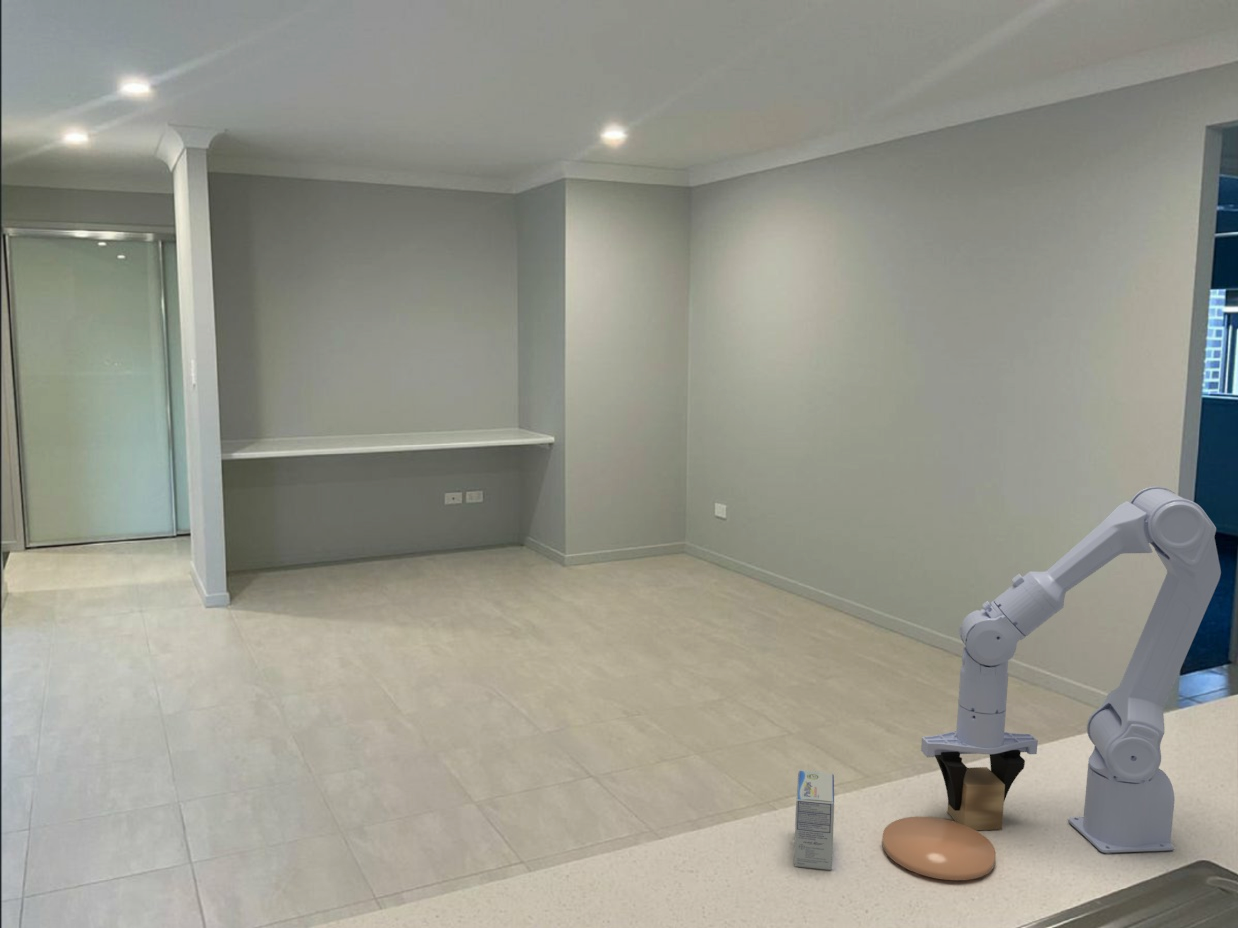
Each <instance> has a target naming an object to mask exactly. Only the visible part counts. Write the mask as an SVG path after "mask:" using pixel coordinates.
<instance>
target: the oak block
mask: <svg viewBox="0 0 1238 928" xmlns="http://www.w3.org/2000/svg"><path fill="white" fill-rule="evenodd" d="M1004 792H1005V784H1004V783H1003V782H1002V781H1001V780H1000V779H999V778H998V777H997V776H995V775H994V774H993V773H992V772H991V769H990V768H989V767H987V766H983V767H982V766H979V767H978V766H976V767H975V766H974V767H967V771H966V773H965V777H964V781H963V786H962V800H961V807H960V811H955V810H954V809H953V808H952V807H951V806H950V805H949V804H948V803H947V809H946V810H947V811H946V812H947V813H948V814H949V815H950V816H951V817H952V818H953V821H954V822H958V823H961V824H963V825H966V826H968V827H970V828H972V829H974V830H976V831H991V830H992V831H993V830H994V831H995V830H997V831H998V830H1002V828H1003V817H1004V806H1005V801H1004Z"/></svg>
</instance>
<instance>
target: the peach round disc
mask: <svg viewBox="0 0 1238 928" xmlns="http://www.w3.org/2000/svg"><path fill="white" fill-rule="evenodd" d="M881 843H882V847H883V850H884V851H885V853H886V854H887V856H888V857H889V858H890V859H891V860H893V861H894V862H895V863H896V864H898V865H900V866H901V867H903V868H905V869H906V870H909V871H911V872H914V873H916V874H918V875H922V876H925V877H929V878H933V879H937V880H938V879H939V880H945V881H969V880H974V879H978V878H982V877H983V876H986V875H987V874H989V873H990V872H991V871H992V870H993V868H994V867H995V865H996V856H997V855H996V854H997V852H996V848H995V847H994V845H993V844H992V842H991V841H990V840H989V839H988V838H987V837H986V836H985V835H984V834H982V833H981V832H980V831H979V830H974V829H972V828H970V827H968V826H966V825H963V824H961V823H958V822H956V821H955V820H950V819H946V818H941V817H933V816H909V817H908V816H907V817H903V818H899V819H896V820H894V821H892V822H891V823H889V824H888V825H886V827H885V828H884V829H883V833H882V841H881Z"/></svg>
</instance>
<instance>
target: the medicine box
mask: <svg viewBox="0 0 1238 928" xmlns="http://www.w3.org/2000/svg"><path fill="white" fill-rule="evenodd" d="M834 777H835V776H834V773H830V772H823V771H814V770H798V775H797V788H796V800H795V801H796V803H795V821H794V822H795V823H794V826H795V827H794V828H795V829H794V832H795V833H794V866H795V867H799V868H808V869H815V870H816V869H817V870H824V871H825V870H826V871H831V870H833V852H834V851H833V848H834V821H835V817H834V816H835V781H834V780H835V779H834Z"/></svg>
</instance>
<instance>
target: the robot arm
mask: <svg viewBox="0 0 1238 928" xmlns="http://www.w3.org/2000/svg"><path fill="white" fill-rule="evenodd" d="M1216 533H1217V527H1216V526H1215V524H1214V522H1213V521H1212V520H1211V518H1210V517H1209V516H1208V515H1207V513H1206V512H1205V510H1204V509H1203V508H1202V507H1201V506H1200V505H1199V504H1198V503H1196V502H1194V501H1192V500H1190V499H1187V498H1184V497H1182V496H1180V495H1178V494H1176V493H1175V492H1174V491H1172V490H1171V489H1168V488H1166V487H1163V486H1150V487H1149V486H1148V487H1146V488H1144V489H1141V490H1139V491H1138V492H1137V493H1136V494H1134V495H1133V497H1131V499H1130V501H1128V500H1126V501H1124V502H1122V503H1121V504H1120V505H1118V506H1117V507H1116V508H1114V509H1113V510H1112V512H1111V513H1110V514H1109V515H1108V516H1107V517H1106V518H1105V519H1104V520H1103V521H1101V522H1100V523H1099V524H1098V525H1097V526H1096V527H1095V528H1093V530H1091V532H1089V533H1088V534H1087V535H1086V536H1085V537H1083V539H1081V540H1080V541H1079V542H1078V543H1076V544H1075V545H1074V546H1073V547H1072V548H1071V549H1070V550H1068V551H1067V553H1065V554H1064V555H1063V556H1062V557H1061V558H1060V559H1058V560H1057V561H1056V562H1055V563H1054V564H1053V565H1051V567H1049V568H1048V569H1047V570H1045V571H1028V572H1027V573H1026V574H1025V575H1023V576H1022V575H1021V573H1017V574H1016V575H1015V576H1014V577H1013V578H1012V579H1011V582H1012V585H1011V586H1009V587H1008V588H1007V589H1006V590H1005V591H1004V592H1002V593H1000V594H999V595H998V596H997V597H996V598H995V599H993V600H991V602H990V601H988V600H986V601H985V602H984V603H982V604H981V607H982V608H981V609H980V610H978V609H975V610H974V611H972V612H970V613H968V614H967V615H966V616H965V617H964V618H963V619H962V622H961V623H962V624H961V625H960V626H959V627H958V633H959V634H958V635H959V638H960V640H961V641H962V643H963V645H964V646H965V647H963V650H962V656H961V666H960V669H959V670H960V671H959V687H958V702H957V703H958V705H957V715H956V716H957V720H956V730H955V731H951V732H945V733H940V734H936V735H930V736H922V737H921V743H920V744H921V745H920V747H921V748H920V749H921V750H920V751H921V753H922V754H923V755H924V756H925V757H926V758H935V759H936V762H937V764H938V766H939V769H940V771H941V774H942V777H943V781H944V785H945V789H946V795H947V796H946V797H947V805H948V804H949V805H950V806H951V807H952V808H953V809H954V810H955V811H960V807H961V800H962V786H963V781H964V777H965V773H966V771H967V768H968V766H966V764H964V763H963V757H961V755H970V754H971V755H977V754H979V755H989V763H990V765H989V766H990V771H991V772H992V773H993V774H994V775H995V776H997V777H998V778H999V779H1000V780H1001V781H1002V782H1003V783H1004V784H1005V792H1004V802H1005V801H1006V798H1007V796H1008V793H1009V791H1010V788H1011V786H1012V785H1013V783H1014V781H1015V780H1016V778H1017V777H1018V776H1019V775H1020V774H1021V772H1022V770H1024V769H1025V765H1026V763H1025V762H1026V760H1025V759H1024V758H1023V757H1022V756H1021V753H1027V754H1028V755H1038V753H1037V752H1038V744H1039V743H1038V741H1039V740H1038V739H1037V738H1036V737H1035V736H1033V735H1032V733H1015V732H1014V733H1013V732H1007V731H1005V728H1006V716H1007V700H1008V699H1007V698H1008V686H1009V672H1008V669H1009V661H1010V660H1011V659H1012V658H1013V657H1014V656H1015V653H1016V650H1017V645H1018V642H1019V641H1022V640H1024V639H1025V638H1026V637H1027V636H1028V635H1030V634H1032V633H1033V632H1034V631H1035V630H1036V629H1038V628H1039V627H1040V626H1042V625H1043V624H1045V622H1047V621H1048V620H1050V619H1051V618H1052V617H1053V616H1055V614H1057V613H1058V612H1060V611H1061V610H1062V609H1063V608H1064V606H1065V596H1066V593H1067V592H1068V591H1070V590H1071V589H1073V588H1074V587H1076V586H1077V585H1079V584H1080V583H1081V582H1083V581H1084V580H1085V579H1087V578H1089V577H1090V576H1092V575H1093V574H1094V573H1095V572H1096V571H1098V570H1100V569H1101V568H1103V567H1105V565H1107V564H1108V563H1109V562H1111V561H1113V560H1114V559H1116V558H1117V557H1118V556H1120V555H1123V554H1151V553H1153V549H1152V547H1153V548H1154V551H1155V552H1156V554H1157V555H1158V558H1159V559H1160V561H1161V562H1162V564H1163V566H1164V567H1165V570H1166V575H1165V577H1164V580H1163V582H1162V585H1161V586H1160V589H1159V592H1158V593H1157V597H1156V598H1155V601H1154V603H1153V605H1152V608H1151V610H1150V613H1149V615H1148V617H1147V620H1146V622H1145V624H1144V626H1143V629H1142V632H1141V634H1140V636H1139V639H1138V642H1137V643H1136V646H1135V648H1134V650H1133V653H1132V655H1131V658H1130V660H1129V662H1128V664H1127V667H1126V669H1125V672H1124V673H1123V676H1122V679H1121V681H1120V683H1119V686H1117V687H1116V688H1114V689H1113V690H1111V691H1110V692H1108V693H1107V695H1106V696H1105V700H1104V701H1103V703H1102V704H1101V705H1100V707H1098V708H1097V709H1096V710H1094V711H1093V712H1092V713H1091V715H1090V716H1089V718H1088V720H1087V721H1086V722H1087V724H1086V732H1087V737H1088V738H1089V740H1090V741H1091V743H1092V745H1094V748H1093V751H1092V753H1091V754H1090V756H1089V757H1088V764H1087V775H1086V785H1085V797H1084V807H1083V808H1084V809H1083V816H1075V817H1074V816H1071V817H1068V819H1067V821H1068V823H1069V824H1070V825H1072V827H1074V828H1075V829H1076V831H1078V832H1079V833H1080V834H1081V835H1082V836H1084V837H1085V839H1087V840H1088V842H1090V843H1091V844H1092V845H1093V846H1094V847H1095V848H1096V849H1097V850H1098V851H1100V852H1101V853H1104V854H1108V853H1109V854H1110V853H1133V852H1138V853H1139V852H1160V851H1161V852H1162V851H1174V850H1175V846H1174V844H1173V843H1171V837H1172V829H1173V819H1174V811H1175V810H1174V808H1175V792H1174V786H1173V784H1172V781H1171V780H1170V778H1169V776H1168V775H1167V774H1166V772H1165V771H1164V770H1162V769H1161V768H1160V766H1161V762H1162V752H1161V751H1162V750H1161V744H1162V743H1161V742H1162V740H1163V738H1164V735H1165V718H1164V708H1165V706H1166V703H1167V702H1168V698H1169V697H1170V694H1171V692H1172V689H1173V687H1174V685H1175V683H1176V679H1177V677H1179V673H1180V671H1181V669H1182V667H1183V665H1184V662H1185V660H1186V657H1187V655H1188V652H1189V650H1190V648H1191V646H1192V643H1193V641H1194V639H1195V637H1196V634H1197V632H1198V629H1200V628H1199V627H1200V625H1201V622H1202V620H1203V618H1204V616H1205V613H1206V611H1207V610H1208V606H1209V604H1210V602H1211V600H1212V597H1213V595H1214V593H1215V590H1216V588H1217V586H1218V584H1219V582H1220V579H1221V574H1222V571H1221V569H1222V568H1221V564H1220V560H1219V554H1218V548H1217V545H1216V544H1217V543H1216V539H1215V537H1216V536H1215V535H1216ZM1151 546H1152V547H1151Z"/></svg>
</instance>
